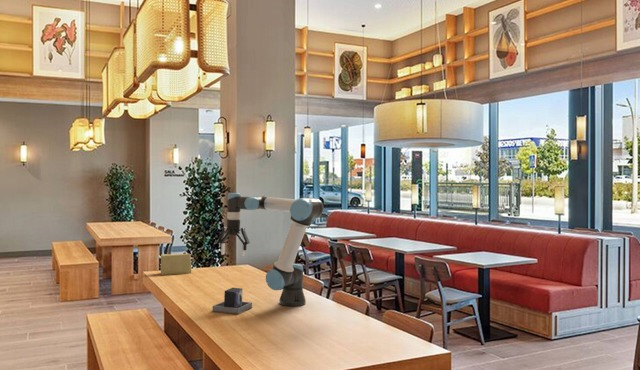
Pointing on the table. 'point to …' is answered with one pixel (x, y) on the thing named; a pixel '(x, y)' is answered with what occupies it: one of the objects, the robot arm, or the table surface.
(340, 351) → the table surface
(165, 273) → the olive rectangular block
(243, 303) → the tray
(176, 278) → the table surface
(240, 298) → the small box
